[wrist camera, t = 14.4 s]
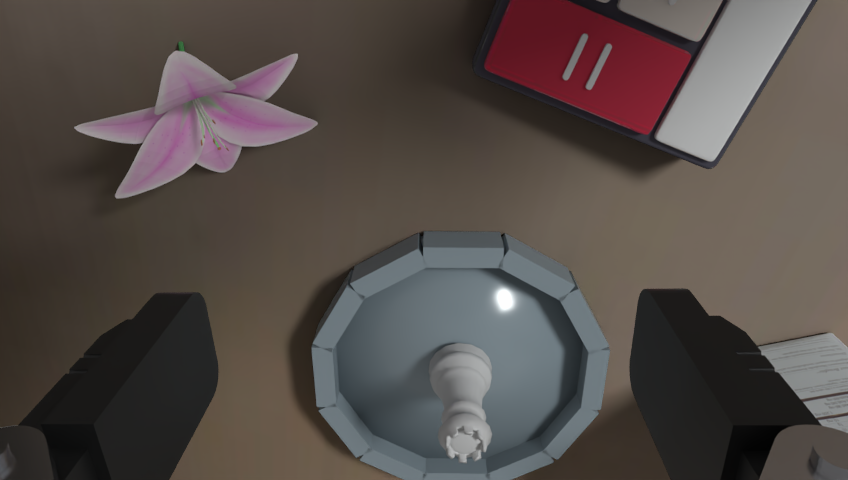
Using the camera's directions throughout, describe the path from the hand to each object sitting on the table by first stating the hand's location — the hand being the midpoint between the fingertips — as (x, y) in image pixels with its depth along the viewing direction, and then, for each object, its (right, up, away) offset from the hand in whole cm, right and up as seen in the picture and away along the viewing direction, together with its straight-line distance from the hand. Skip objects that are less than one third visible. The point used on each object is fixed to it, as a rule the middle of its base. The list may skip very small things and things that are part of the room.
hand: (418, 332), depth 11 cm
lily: (-12, +10, +25) cm, 30 cm away
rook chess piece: (+3, -7, +32) cm, 33 cm away
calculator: (+12, +14, +24) cm, 30 cm away
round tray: (+3, -7, +33) cm, 33 cm away
